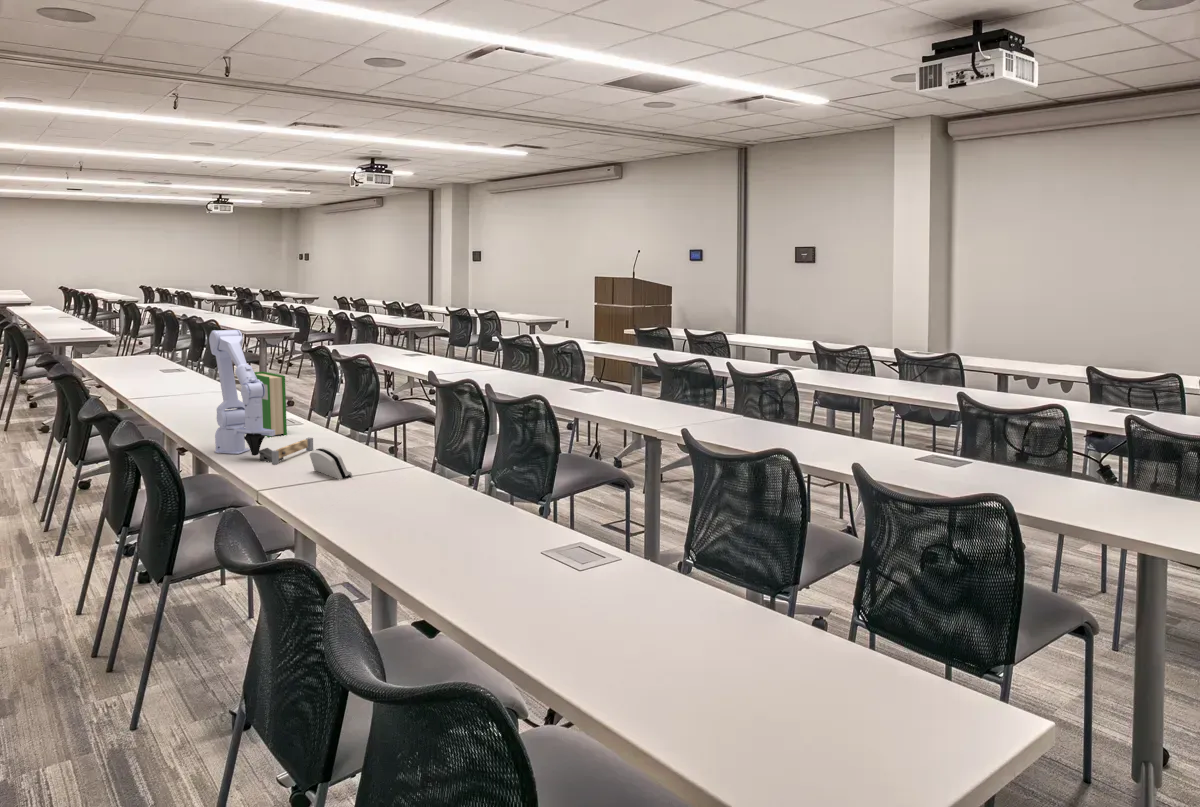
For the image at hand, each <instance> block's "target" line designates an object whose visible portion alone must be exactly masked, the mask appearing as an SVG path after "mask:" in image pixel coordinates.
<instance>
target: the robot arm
mask: <svg viewBox="0 0 1200 807" xmlns="http://www.w3.org/2000/svg"><path fill="white" fill-rule="evenodd" d="M243 336H244V335H243V333H242V331H241V330H240V329H224V330H222V329H221V330H215V329H214V330H213V329H212V330H211V331H210V334H209V337H208V342H209V347H210V352H211V354H212V355H213V356H215V360H216V365H217V371H218V376H219V382H220V388H221V395H222V400H223V401H222V402H221V403H219V405H218V406H217V407H216V422H217V425H218V426H219V427H218V428H216V430H215V435H214V437H215V440H214V441H215V444H214V445H215V450H214V453H217V454H231V455H233V454H234V455H239V454H243V453H246V452H248V451H250V453H251V456H258V455H259V456H260V454H259V450H261V445H262V443H263V441H264V439H265V435H268V436H271V437H274V436H276V435H275V430H271V429H265V428H263V412H262V398H263V397H264V395H265V387H264V384H263V383H262V382H261V381H260V380H259V379H257V377H256V375H255V373H254V372H255V371H254V369H253V366H252V365H250V364H248V362H247V361H246V360H247V359H246V357H245V354H244V350H243V343H244V338H243ZM233 364H234V365H235V367H236V368H235V372H234V367H233ZM235 375H236V377H237V379H238V382H239V384H240V387H241V388H240V396H241V398H242V401H241V400H240V399H239V397H238V390H237V389H238V388H237V384H236V379H235ZM246 443H247V445H248V447H246Z"/></svg>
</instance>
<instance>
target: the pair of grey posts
mask: <svg viewBox="0 0 1200 807" xmlns="http://www.w3.org/2000/svg"><path fill="white" fill-rule="evenodd" d="M305 439H308V448H305V450H311V451H314V438H313V437H307V438H305ZM276 450H277V449H275V450H272V462H271V464H272V465H278V463H280V461H279V452H278V451H276Z"/></svg>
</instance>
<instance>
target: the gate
mask: <svg viewBox="0 0 1200 807" xmlns="http://www.w3.org/2000/svg"><path fill="white" fill-rule="evenodd" d="M306 448H308V439H306V438H305V439H301V440H300V441H297V442H294V443H291V444H288V445H285V446H283V447H280V448H277V449H275V450H276V451H278V452H279V458H282V457H283V458H285V457H287V456H289V455H292V454H294V453H297V452H299V451H303V450H306Z"/></svg>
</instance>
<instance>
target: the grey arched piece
mask: <svg viewBox="0 0 1200 807" xmlns="http://www.w3.org/2000/svg"><path fill="white" fill-rule="evenodd" d="M309 457H310V461H311V464H312V466H313V470H314V471H315V470H316V471H315V472H317V471H318V472H317V473H320V472H321V473H320V474H323V473H324V474H323V475H325V474H326V475H325V476H328V475H329V476H328V477H331V476H332V477H331V478H333V477H335V478H334V479H336V478H337V479H336V480H339V479H340V480H343V479H344V478H343V477H349V476H350V478H353V476H354V475H353V473H352V472H351V471H349V470H348V469H347V467H346V465H345V462H344V461H343V458H342V457H341V455H340V454H338V452H336V451H334V450H333V449H331V448H328V447H326V446H325V447H323V446H322V447H319V448H316V449H315V450H311V451H310V453H309Z"/></svg>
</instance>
